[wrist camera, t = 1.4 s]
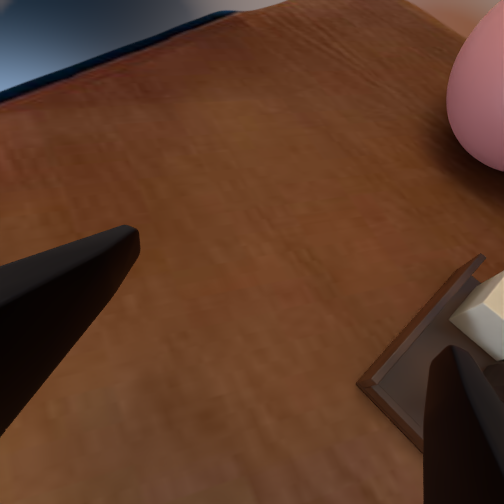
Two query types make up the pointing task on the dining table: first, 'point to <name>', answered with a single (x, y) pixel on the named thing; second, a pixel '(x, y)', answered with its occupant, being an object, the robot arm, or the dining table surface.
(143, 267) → the dining table surface
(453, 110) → the balloon
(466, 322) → the cream block
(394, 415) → the brown tray with post
